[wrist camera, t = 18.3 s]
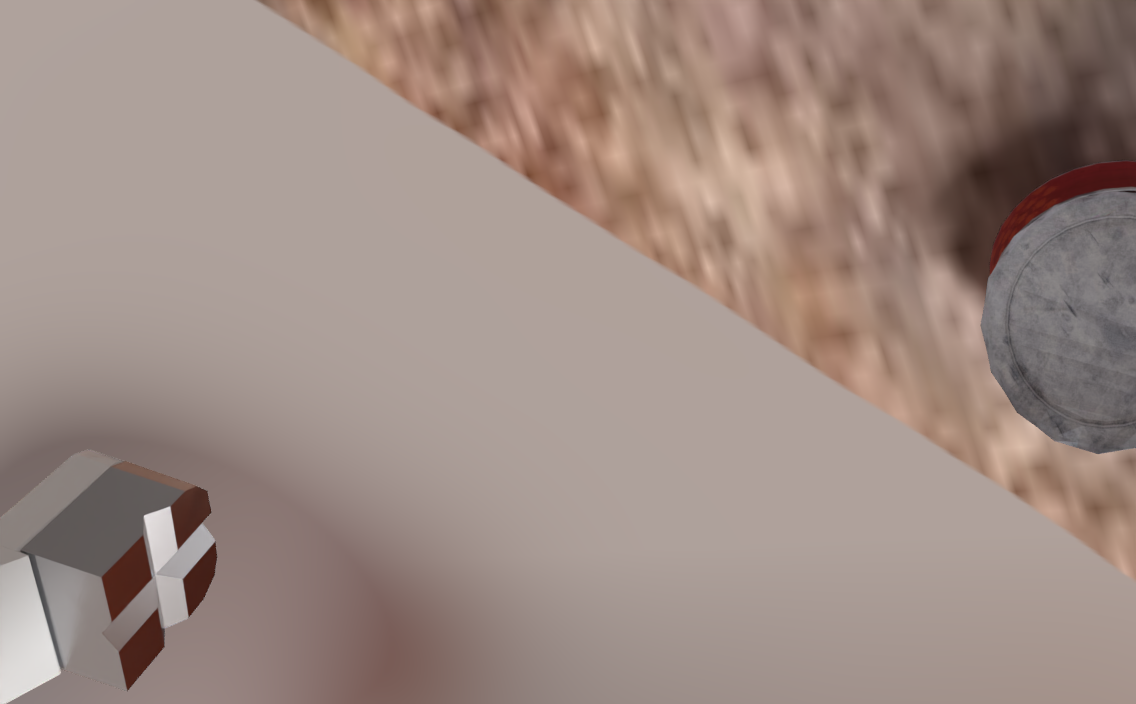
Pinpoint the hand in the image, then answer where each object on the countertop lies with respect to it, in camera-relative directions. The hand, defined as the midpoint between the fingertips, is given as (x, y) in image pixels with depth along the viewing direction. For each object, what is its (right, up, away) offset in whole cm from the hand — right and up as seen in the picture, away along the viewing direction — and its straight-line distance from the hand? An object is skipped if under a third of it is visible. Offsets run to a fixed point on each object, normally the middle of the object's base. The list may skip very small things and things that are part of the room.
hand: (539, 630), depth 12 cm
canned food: (+24, +7, +36) cm, 43 cm away
